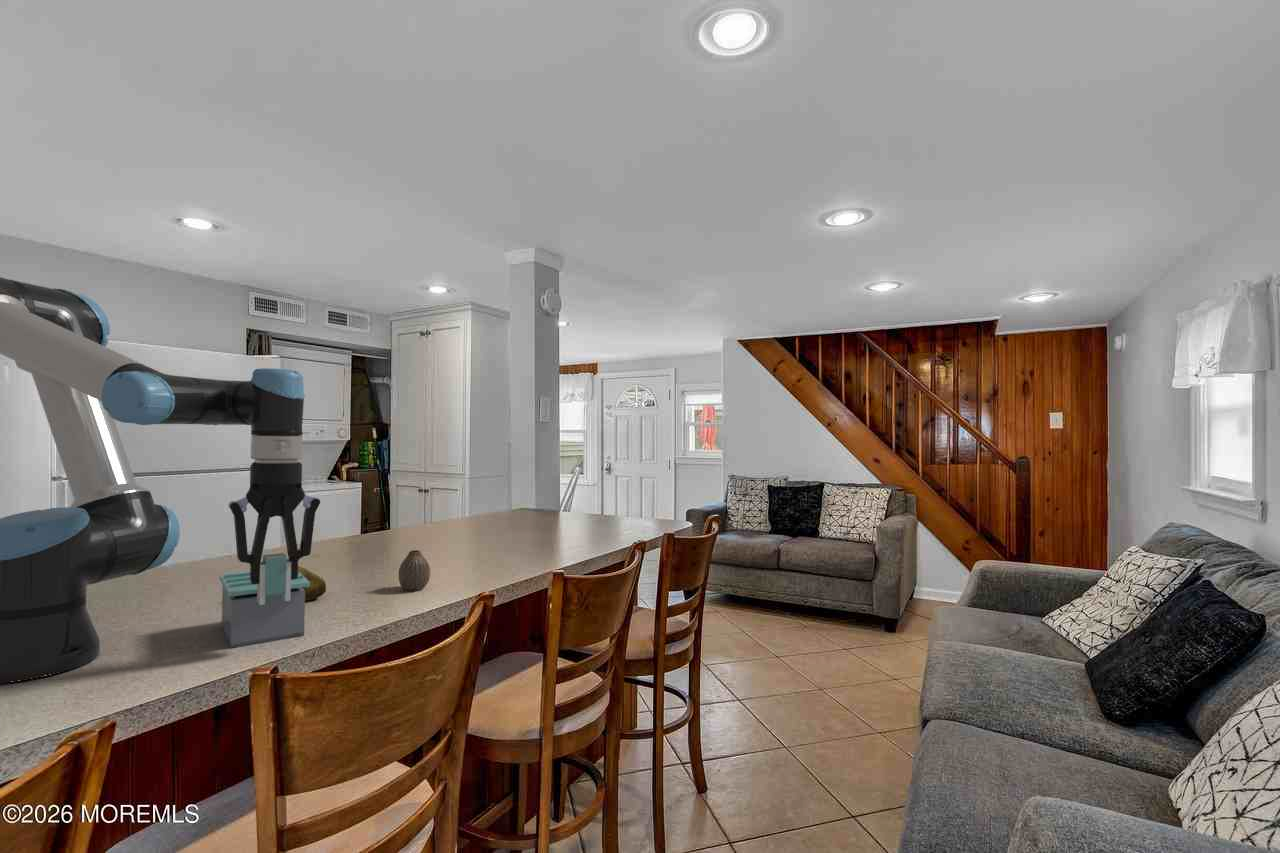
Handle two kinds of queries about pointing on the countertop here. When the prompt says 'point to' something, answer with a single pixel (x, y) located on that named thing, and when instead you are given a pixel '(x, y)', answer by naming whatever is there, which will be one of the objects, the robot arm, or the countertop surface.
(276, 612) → the tub
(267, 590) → the lid
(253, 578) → the robot arm
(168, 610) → the countertop surface
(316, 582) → the potato
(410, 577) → the vase
